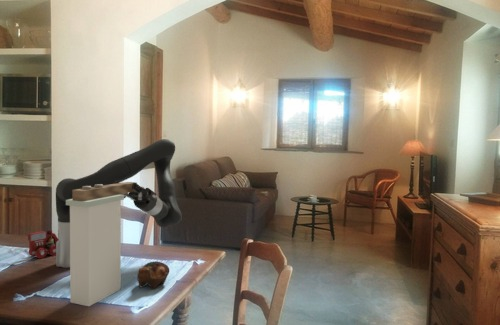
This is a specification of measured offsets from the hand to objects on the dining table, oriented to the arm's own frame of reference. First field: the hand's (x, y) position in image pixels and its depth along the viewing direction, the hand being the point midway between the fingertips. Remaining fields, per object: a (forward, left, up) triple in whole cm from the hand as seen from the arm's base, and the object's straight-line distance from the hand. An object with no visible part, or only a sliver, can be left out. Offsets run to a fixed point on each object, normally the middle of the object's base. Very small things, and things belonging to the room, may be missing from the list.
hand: (124, 184), depth 130 cm
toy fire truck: (-37, +34, -34) cm, 60 cm away
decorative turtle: (+10, -4, -34) cm, 36 cm away
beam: (-4, -7, -3) cm, 9 cm away
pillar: (-7, -11, -34) cm, 36 cm away
